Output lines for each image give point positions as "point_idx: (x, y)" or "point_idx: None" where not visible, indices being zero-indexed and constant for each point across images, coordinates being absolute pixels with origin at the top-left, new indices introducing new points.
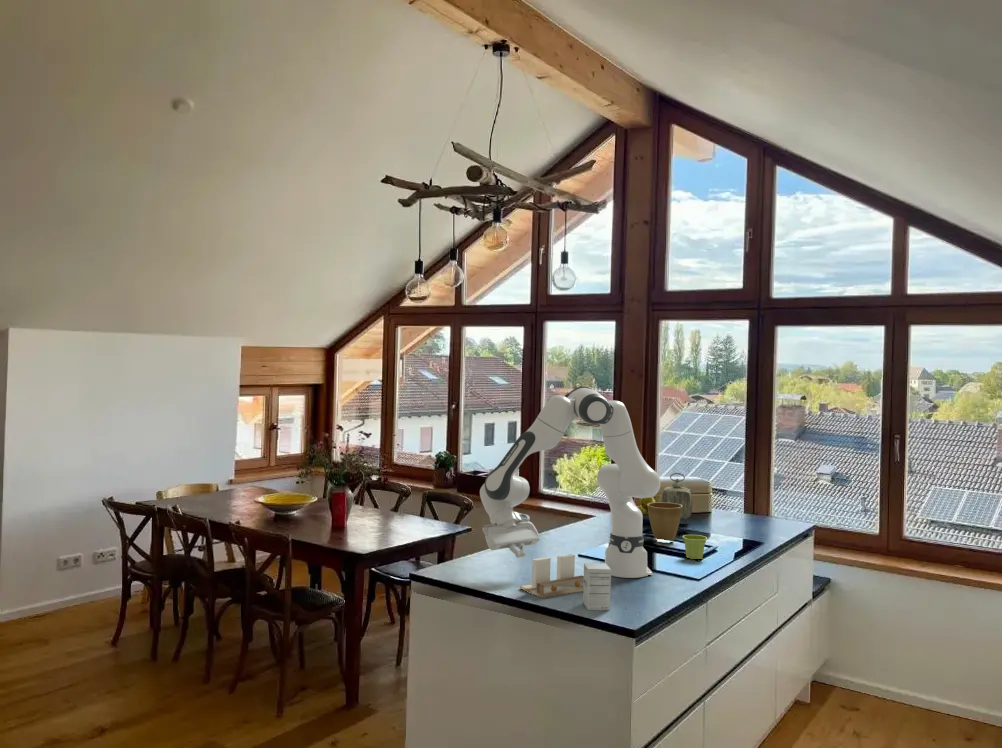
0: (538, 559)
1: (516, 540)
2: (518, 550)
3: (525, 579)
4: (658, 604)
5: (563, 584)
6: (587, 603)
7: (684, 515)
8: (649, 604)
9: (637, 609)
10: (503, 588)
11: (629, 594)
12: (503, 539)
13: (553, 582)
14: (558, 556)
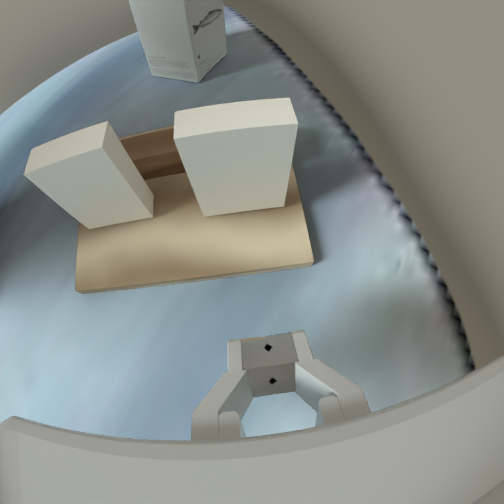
0: (262, 109)
1: (308, 442)
2: (297, 364)
3: None
4: (80, 69)
5: None
6: (225, 42)
7: None
8: (90, 68)
9: (134, 49)
10: (366, 308)
11: (55, 123)
12: (487, 406)
13: None
14: (102, 139)
